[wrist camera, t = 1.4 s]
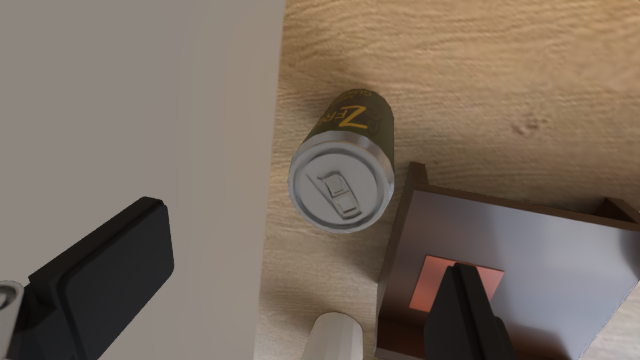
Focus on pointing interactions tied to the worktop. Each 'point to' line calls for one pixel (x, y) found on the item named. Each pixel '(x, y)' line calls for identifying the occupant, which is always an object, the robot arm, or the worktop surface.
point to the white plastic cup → (334, 339)
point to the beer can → (346, 164)
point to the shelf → (506, 267)
